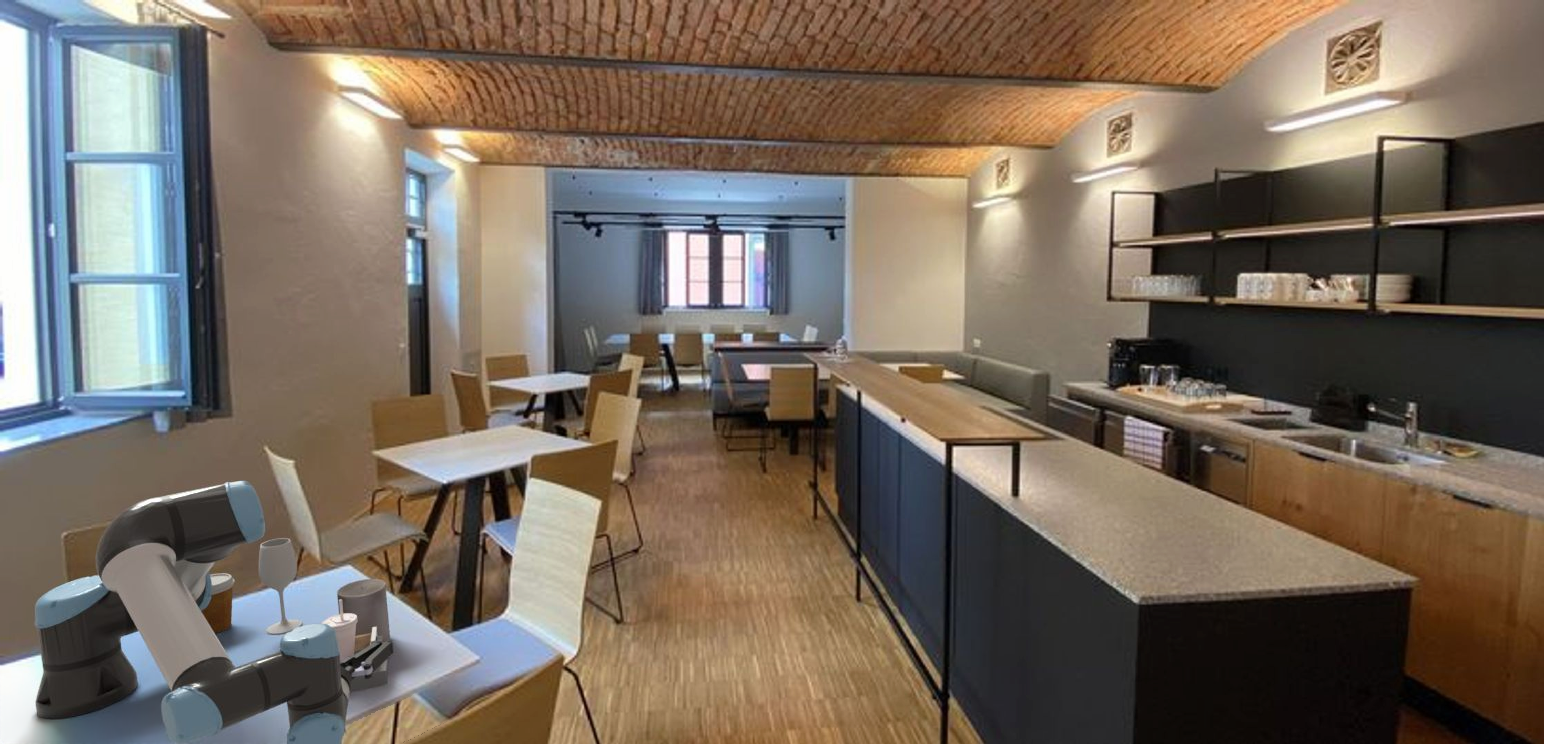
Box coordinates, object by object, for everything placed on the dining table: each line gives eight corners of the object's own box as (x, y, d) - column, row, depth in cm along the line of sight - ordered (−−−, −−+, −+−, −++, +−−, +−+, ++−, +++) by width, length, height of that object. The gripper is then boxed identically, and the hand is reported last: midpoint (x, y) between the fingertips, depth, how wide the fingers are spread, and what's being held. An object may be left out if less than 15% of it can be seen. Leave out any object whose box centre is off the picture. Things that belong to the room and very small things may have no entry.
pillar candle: (339, 643, 173) (332, 580, 171) (386, 630, 179) (380, 569, 176) (346, 660, 165) (339, 595, 163) (395, 646, 171) (389, 583, 169)
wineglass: (279, 619, 185) (270, 536, 182) (310, 619, 185) (301, 536, 182) (257, 634, 178) (248, 548, 175) (289, 634, 177) (280, 548, 175)
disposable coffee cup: (188, 628, 182) (182, 580, 180) (236, 615, 188) (230, 569, 186) (192, 642, 175) (186, 592, 173) (242, 628, 181) (236, 580, 179)
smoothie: (345, 673, 154) (339, 607, 152) (318, 670, 155) (312, 604, 153) (368, 657, 160) (363, 594, 158) (341, 654, 161) (336, 591, 159)
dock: (295, 704, 148) (294, 689, 148) (304, 672, 160) (302, 659, 159) (387, 684, 155) (385, 670, 154) (389, 655, 167) (387, 642, 166)
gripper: (238, 735, 124) (261, 674, 143) (408, 696, 134) (408, 644, 154) (233, 692, 123) (257, 636, 142) (404, 656, 133) (405, 609, 153)
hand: (335, 640), depth 148 cm, fingers open, 13 cm apart
